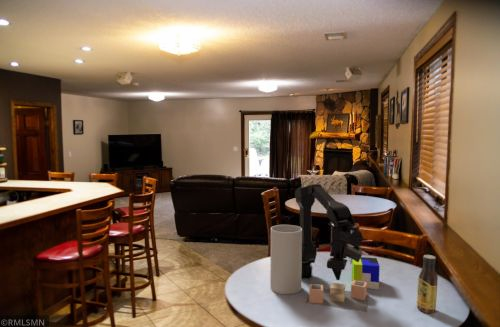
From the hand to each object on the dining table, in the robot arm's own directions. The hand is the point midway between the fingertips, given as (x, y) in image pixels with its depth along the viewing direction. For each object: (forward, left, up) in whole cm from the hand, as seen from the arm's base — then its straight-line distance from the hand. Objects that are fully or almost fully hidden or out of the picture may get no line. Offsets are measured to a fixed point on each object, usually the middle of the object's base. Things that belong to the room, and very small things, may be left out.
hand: (338, 279), depth 143 cm
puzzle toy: (+9, +19, -8) cm, 23 cm away
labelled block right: (+7, +5, -7) cm, 12 cm away
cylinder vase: (-21, +3, -8) cm, 23 cm away
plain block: (0, 0, -7) cm, 7 cm away
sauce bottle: (+31, +2, -8) cm, 32 cm away
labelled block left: (-8, -4, -7) cm, 11 cm away
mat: (0, +1, -8) cm, 8 cm away
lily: (+3, +47, -8) cm, 47 cm away
